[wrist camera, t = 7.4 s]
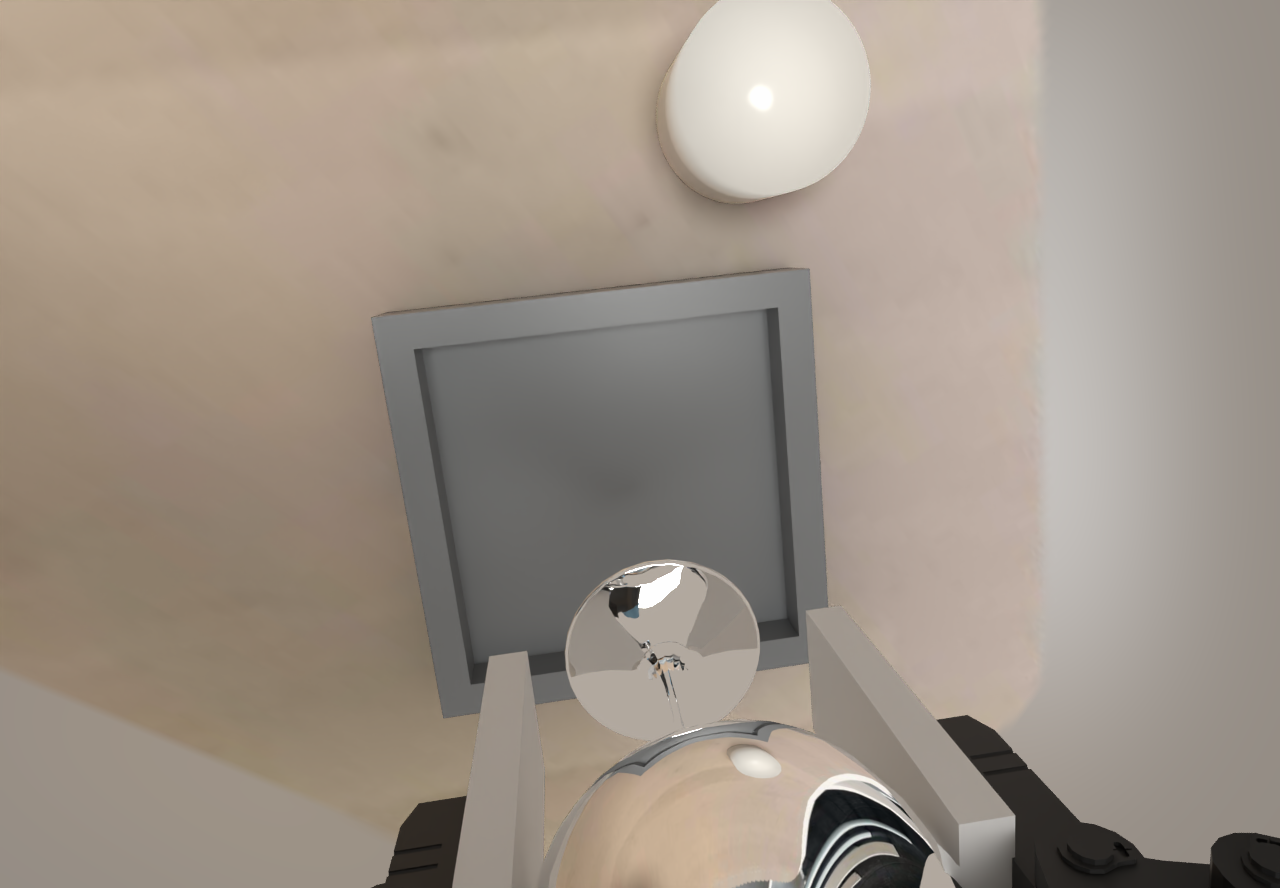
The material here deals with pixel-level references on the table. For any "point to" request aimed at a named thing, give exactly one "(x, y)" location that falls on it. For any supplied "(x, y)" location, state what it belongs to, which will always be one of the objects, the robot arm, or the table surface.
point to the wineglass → (717, 760)
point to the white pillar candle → (763, 98)
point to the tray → (604, 460)
